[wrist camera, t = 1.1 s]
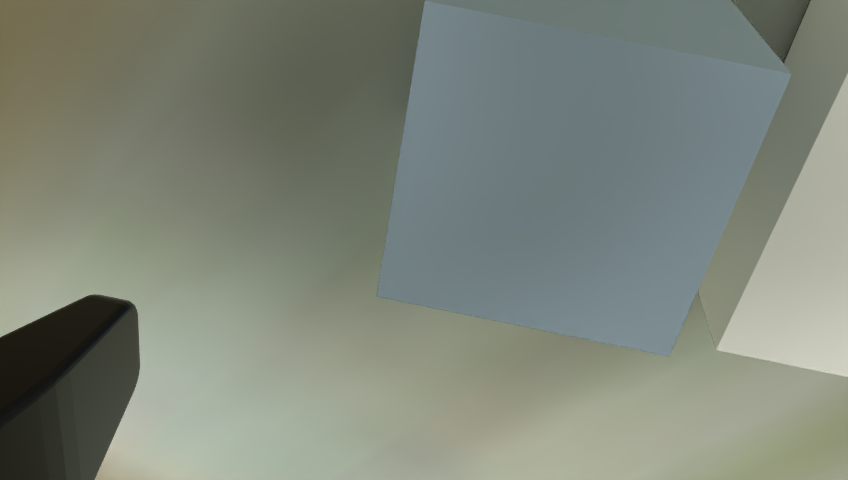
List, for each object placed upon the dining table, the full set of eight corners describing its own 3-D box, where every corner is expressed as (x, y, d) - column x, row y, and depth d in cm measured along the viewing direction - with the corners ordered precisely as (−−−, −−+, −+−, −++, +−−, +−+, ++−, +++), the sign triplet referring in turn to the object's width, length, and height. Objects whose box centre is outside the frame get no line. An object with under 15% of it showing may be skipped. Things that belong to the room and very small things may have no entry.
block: (698, -40, 16) (791, 74, 10) (626, 170, 19) (668, 356, 13) (463, -86, 16) (424, 0, 11) (424, 129, 19) (376, 295, 13)
